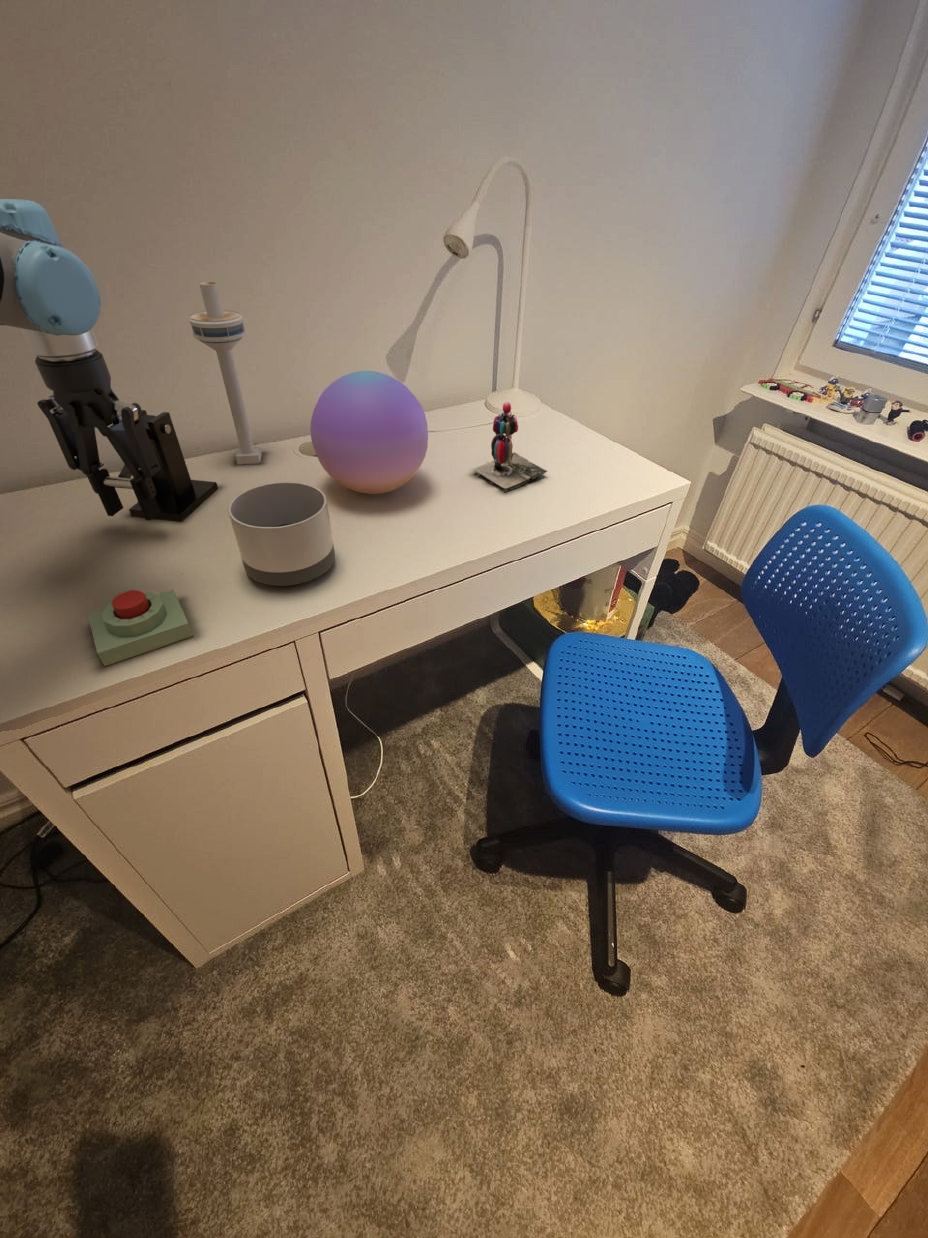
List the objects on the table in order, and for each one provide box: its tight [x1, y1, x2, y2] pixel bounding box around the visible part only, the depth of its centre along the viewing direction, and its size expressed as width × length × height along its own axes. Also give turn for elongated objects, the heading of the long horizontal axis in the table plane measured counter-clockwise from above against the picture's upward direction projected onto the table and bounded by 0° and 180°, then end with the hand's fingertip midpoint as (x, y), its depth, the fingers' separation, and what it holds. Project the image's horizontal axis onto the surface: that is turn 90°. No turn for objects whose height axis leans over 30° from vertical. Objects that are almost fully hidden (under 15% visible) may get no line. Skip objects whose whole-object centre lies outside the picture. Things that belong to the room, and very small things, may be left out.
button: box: [111, 589, 150, 619], centre depth 65 cm, size 4×4×2 cm
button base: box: [87, 589, 194, 667], centre depth 67 cm, size 10×8×4 cm
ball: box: [309, 370, 429, 495], centre depth 93 cm, size 20×20×20 cm
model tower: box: [188, 281, 263, 465], centre depth 97 cm, size 8×8×30 cm
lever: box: [101, 414, 157, 490], centre depth 83 cm, size 13×6×2 cm, turn 172°
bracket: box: [128, 409, 219, 522], centre depth 88 cm, size 12×9×15 cm
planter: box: [227, 481, 336, 587], centre depth 76 cm, size 13×13×10 cm
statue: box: [473, 401, 548, 494], centre depth 100 cm, size 11×9×15 cm
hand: (134, 513), depth 84 cm, fingers closed on lever, 5 cm apart
